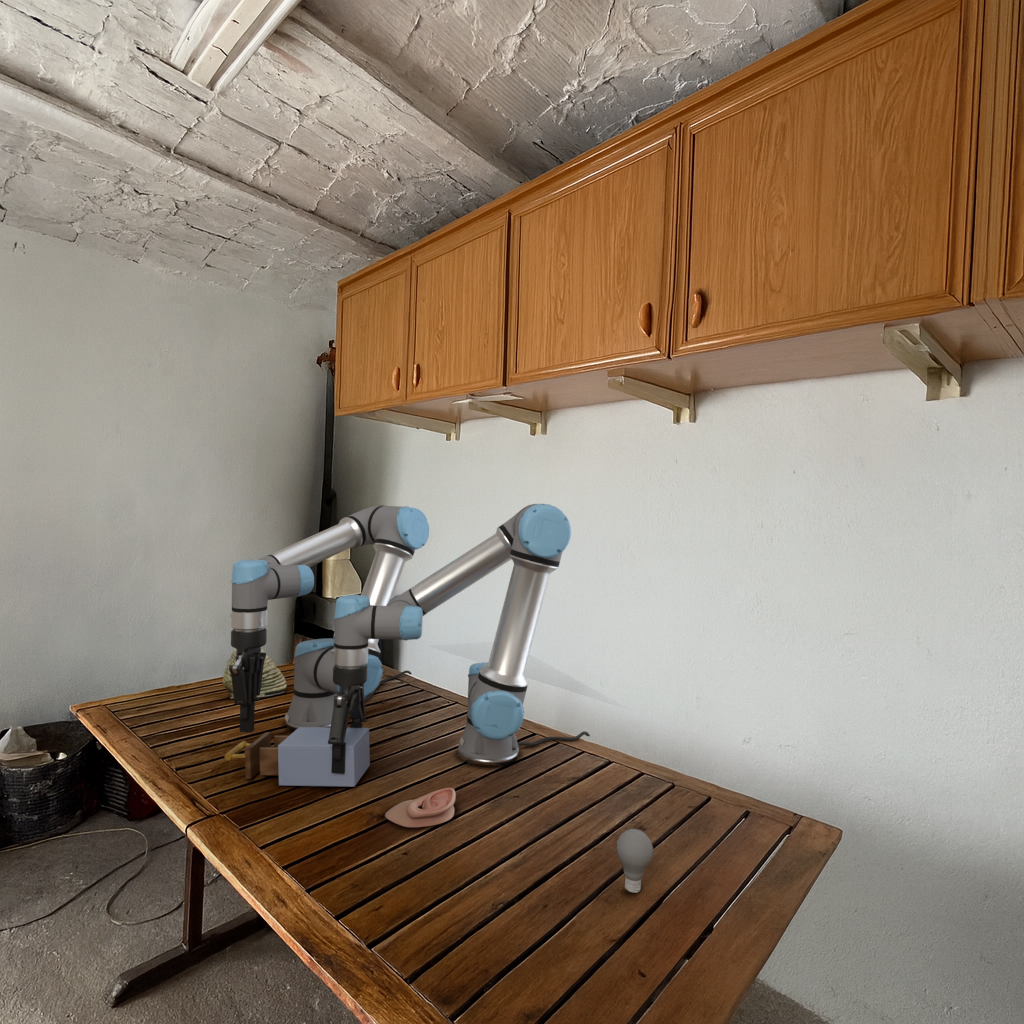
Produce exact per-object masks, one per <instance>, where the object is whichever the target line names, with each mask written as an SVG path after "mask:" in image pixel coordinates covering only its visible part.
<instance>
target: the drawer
mask: <svg viewBox="0 0 1024 1024" xmlns="http://www.w3.org/2000/svg"><path fill="white" fill-rule="evenodd" d="M271 736H272V735H271V731H270V732H268V731H267V732H264V733H263V734H262V735H260V736H259V737H258V738H256V739H255V740H254V741H253V742H251V743H248V742H247V741H246V740H242V741H241V742H240V743H238V744H237V745H235V746H234V747H233V748H231V749H230V750H229V751H228V752H225V754H224V759H225V760H226V761H230V760H232V759H244V770H245V771H244V773H245V776H244V777H245V780H251V779H252V778H253V777H255V776H256V775H257V774H258V773H259V776H279V769H278V745H279V744H280V743H281V742H283V741H284V740H285V739H286V738H287V737H288V736H289V735H278V734H277V735H274V736H273V747H272V737H271ZM243 750H244V753H241V752H242V751H243Z"/></svg>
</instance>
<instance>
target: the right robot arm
mask: <svg viewBox="0 0 1024 1024" xmlns="http://www.w3.org/2000/svg"><path fill="white" fill-rule="evenodd" d="M571 537H572V527H571V524H570V520H569V519H568V517H567V515H566V514H565V513H564V512H563V511H562V510H561V509H560V508H558V507H557V506H554V505H552V504H549V503H548V504H547V503H532V504H528V505H526V506H524V507H523V508H521V509H520V510H518V512H517V513H515V514H514V515H513V516H512V517H511V518H509V519H508V520H506V521H505V522H504V523H503V524H501V525H499V526H498V527H496V531H495V533H494V534H492V535H491V536H489V537H488V538H487V539H485V540H483V541H481V542H480V543H479V544H477V545H476V546H474V547H472V548H471V549H469V550H467V551H466V552H465V553H463V554H461V555H459V556H458V557H457V558H454V560H452V561H450V562H449V563H447V564H446V565H444V566H443V567H441V568H439V569H438V570H436V571H435V572H433V573H431V574H430V575H429V576H427V577H425V578H424V579H423V580H421V581H419V582H418V583H416V584H414V585H413V586H412V587H410V588H409V589H406V590H405V591H404V592H402V593H401V594H397V595H394V597H393V598H392V599H391V600H390V601H389V602H388V603H387V606H374V605H370V604H371V603H370V599H369V598H368V597H367V596H361V594H347V595H342V596H339V597H338V598H337V599H336V601H335V610H334V616H333V617H334V618H333V620H334V621H333V622H334V624H333V625H334V629H333V630H334V631H333V639H334V649H332V653H334V664H335V666H334V667H333V683H334V684H336V685H339V686H340V692H339V693H338V694H337V695H338V696H334V708H333V714H332V721H331V728H330V735H329V740H328V744H332V769H331V773H339V774H344V773H345V751H346V743H345V742H344V740H345V735H346V730H347V728H348V726H349V728H364V727H363V725H364V723H367V719H368V718H367V717H366V716H367V710H366V709H367V707H366V701H365V698H366V697H364V683H365V682H366V681H367V665H366V664H367V663H368V639H379V640H394V641H398V640H399V641H413V640H418V639H420V638H422V635H423V618H424V616H426V615H427V614H429V613H430V612H431V611H433V610H435V609H436V608H438V607H439V606H441V605H442V604H444V603H445V602H447V601H449V600H451V599H452V598H453V597H455V596H456V595H458V594H460V593H461V592H463V591H465V590H466V589H467V588H469V587H470V586H472V585H473V584H475V583H477V582H478V581H480V580H482V579H483V578H485V577H486V576H488V575H489V574H491V573H492V572H495V571H496V570H497V569H499V568H501V567H502V566H503V565H505V564H507V563H508V562H510V561H512V563H513V566H512V571H511V574H510V577H509V582H508V586H507V590H506V594H505V598H504V602H503V606H502V609H501V613H500V615H499V616H500V617H499V620H498V624H497V628H496V632H495V636H494V640H493V643H492V647H491V651H490V654H489V655H490V656H489V658H488V662H476V663H472V664H471V665H470V666H469V668H468V674H467V677H468V685H467V706H466V708H467V709H466V724H465V726H464V729H463V733H462V735H461V737H460V739H459V743H458V746H457V747H458V748H457V755H458V757H459V759H461V761H463V762H464V763H467V764H470V765H473V766H478V767H483V768H484V767H485V768H486V767H487V768H495V767H504V766H507V765H511V764H512V763H514V762H517V760H518V758H519V755H520V747H519V746H523V747H534V746H537V745H540V744H542V743H544V742H547V741H562V742H563V741H565V742H573V741H577V740H580V739H581V738H582V737H583V736H586V737H591V735H590V733H589V732H587V731H585V730H584V731H581V732H580V733H579V734H577V735H576V736H570V737H567V736H545V737H543V738H540V739H538V740H536V741H532V742H527V741H518V739H517V736H516V733H518V731H519V730H520V728H521V727H522V724H523V722H524V717H525V710H524V708H525V707H524V702H525V699H526V694H527V690H528V686H529V680H528V679H527V677H526V676H525V671H526V668H527V664H528V660H529V655H530V652H531V648H532V644H533V642H534V641H533V640H534V637H535V632H536V629H537V625H538V621H539V618H540V613H541V610H542V606H543V602H544V599H545V595H546V590H547V587H548V583H549V579H550V575H551V574H552V573H553V572H555V571H556V570H558V569H559V567H560V563H561V560H562V555H563V552H564V551H565V550H566V549H567V547H568V545H569V544H570V541H571ZM350 717H351V721H352V722H350V725H348V724H349V721H350ZM571 737H572V738H571Z"/></svg>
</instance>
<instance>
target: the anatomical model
mask: <svg viewBox="0 0 1024 1024" xmlns="http://www.w3.org/2000/svg"><path fill="white" fill-rule="evenodd" d="M456 797H457V795H456V791H455V788H452V787H445V788H441V789H437V790H435V791H431V792H429V793H427V794H424V795H422V796H419V797H417V798H414V799H408V800H405V801H401V802H399V803H398V804H396V805H394V806H392V807H391V808H390V809H388V810H387V811H386V812H385V814H384V817H385V818H386V819H387V820H388V821H390V822H392V823H394V824H395V825H397V826H401V827H404V828H423V827H425V828H426V827H431V826H436V825H441V824H443V823H445V822H448V821H450V820H452V818H453V817H454V815H455V807H454V805H455V803H456V799H457V798H456Z"/></svg>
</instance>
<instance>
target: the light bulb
mask: <svg viewBox="0 0 1024 1024" xmlns="http://www.w3.org/2000/svg"><path fill="white" fill-rule="evenodd" d="M615 849H616V854H617V857H618V859H619V861H620V863H621V865H622V867H623V873H624V874H623V875H624V876H625V878H624V888H625V890H627V891H628V892H630V893H634V894H635V893H639V892H640V891H641V889H642V887H641V886H642V879H643V877H644V875H645V871H646V868H647V867H648V866H649V864H650V863H651V861H652V859H653V855H654V847H653V843H652V841H651V838H649V836H648V835H647V834H646V833H645V832H643V831H642V830H641V829H636V828H629V829H627V830H625V831H623V832H622V833H621V834H620V835H619V837H618V839H617V841H616V847H615Z"/></svg>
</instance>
